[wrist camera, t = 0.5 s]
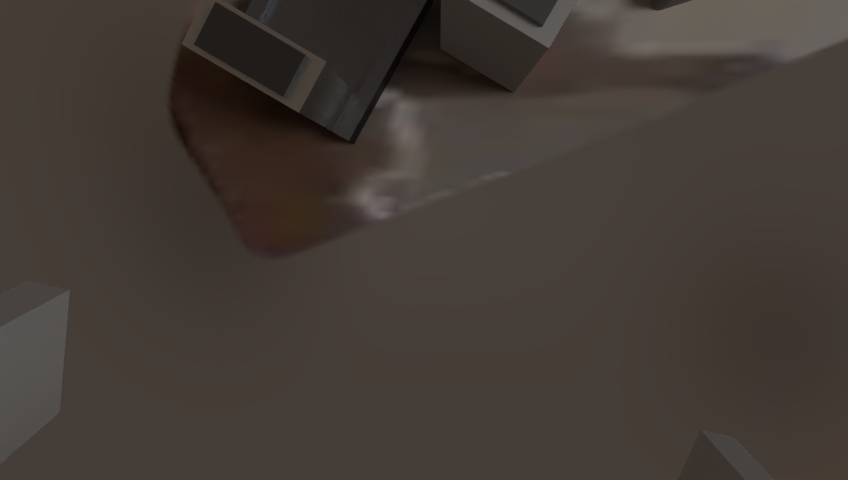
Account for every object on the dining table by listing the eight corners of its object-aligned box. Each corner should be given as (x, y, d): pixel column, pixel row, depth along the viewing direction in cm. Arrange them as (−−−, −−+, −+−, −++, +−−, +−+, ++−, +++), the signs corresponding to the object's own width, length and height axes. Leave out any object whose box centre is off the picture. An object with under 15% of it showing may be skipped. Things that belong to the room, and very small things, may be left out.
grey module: (473, -10, 34) (490, -109, 23) (547, 34, 35) (601, -41, 23) (440, 48, 35) (441, -20, 23) (513, 92, 35) (550, 45, 24)
